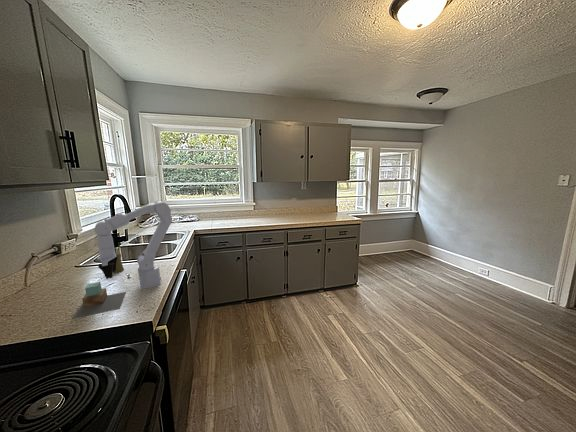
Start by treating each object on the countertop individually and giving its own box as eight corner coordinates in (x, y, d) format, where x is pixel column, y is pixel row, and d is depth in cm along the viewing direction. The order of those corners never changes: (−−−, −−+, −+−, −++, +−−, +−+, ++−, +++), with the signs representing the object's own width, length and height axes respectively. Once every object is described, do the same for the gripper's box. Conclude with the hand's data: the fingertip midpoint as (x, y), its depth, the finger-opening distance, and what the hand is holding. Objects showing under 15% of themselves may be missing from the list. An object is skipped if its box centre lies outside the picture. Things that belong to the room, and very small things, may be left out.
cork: (113, 269, 143) (110, 252, 141) (125, 268, 145) (122, 251, 143) (110, 274, 138) (107, 255, 135) (122, 272, 140) (119, 254, 137)
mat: (126, 292, 117) (126, 291, 117) (119, 309, 102) (119, 308, 102) (85, 300, 110) (85, 299, 110) (72, 320, 96) (71, 319, 96)
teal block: (101, 289, 111) (100, 281, 110) (99, 294, 107) (97, 285, 106) (89, 292, 109) (87, 283, 108) (86, 296, 105) (84, 288, 104)
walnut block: (107, 295, 113) (106, 288, 112) (103, 303, 107) (102, 295, 106) (88, 299, 110) (87, 291, 109) (83, 307, 104) (82, 298, 103)
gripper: (100, 244, 116) (104, 270, 118) (90, 253, 103) (96, 283, 105) (117, 242, 118) (121, 267, 121) (110, 251, 106) (115, 279, 108)
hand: (111, 274), depth 113 cm, fingers open, 7 cm apart
